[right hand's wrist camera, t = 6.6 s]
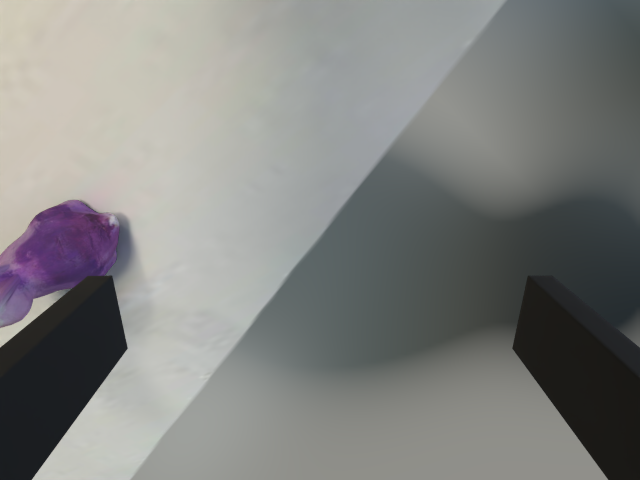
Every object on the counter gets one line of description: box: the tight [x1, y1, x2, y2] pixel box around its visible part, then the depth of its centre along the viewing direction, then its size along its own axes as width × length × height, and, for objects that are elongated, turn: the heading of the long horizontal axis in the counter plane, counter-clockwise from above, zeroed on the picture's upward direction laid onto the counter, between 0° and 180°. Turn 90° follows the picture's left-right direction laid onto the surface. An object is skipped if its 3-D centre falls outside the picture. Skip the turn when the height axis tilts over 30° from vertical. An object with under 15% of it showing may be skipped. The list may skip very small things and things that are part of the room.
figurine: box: [0, 200, 119, 328], centre depth 35 cm, size 9×10×15 cm
